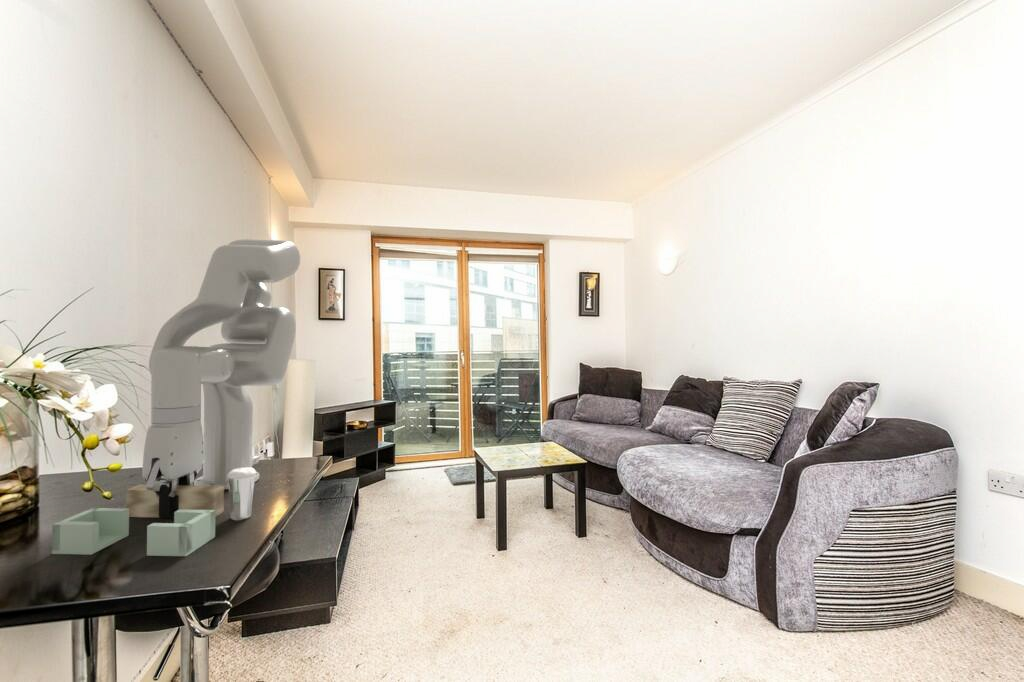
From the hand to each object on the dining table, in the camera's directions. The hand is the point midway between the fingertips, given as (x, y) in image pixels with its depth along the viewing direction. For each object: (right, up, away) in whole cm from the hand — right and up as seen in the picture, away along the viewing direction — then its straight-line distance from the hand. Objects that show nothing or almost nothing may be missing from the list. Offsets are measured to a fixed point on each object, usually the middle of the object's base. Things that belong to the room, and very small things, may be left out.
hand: (175, 512), depth 87 cm
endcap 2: (+10, -1, -13) cm, 16 cm away
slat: (0, 0, 0) cm, 0 cm away
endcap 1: (-4, 0, -13) cm, 13 cm away
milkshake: (+12, -1, 0) cm, 12 cm away
